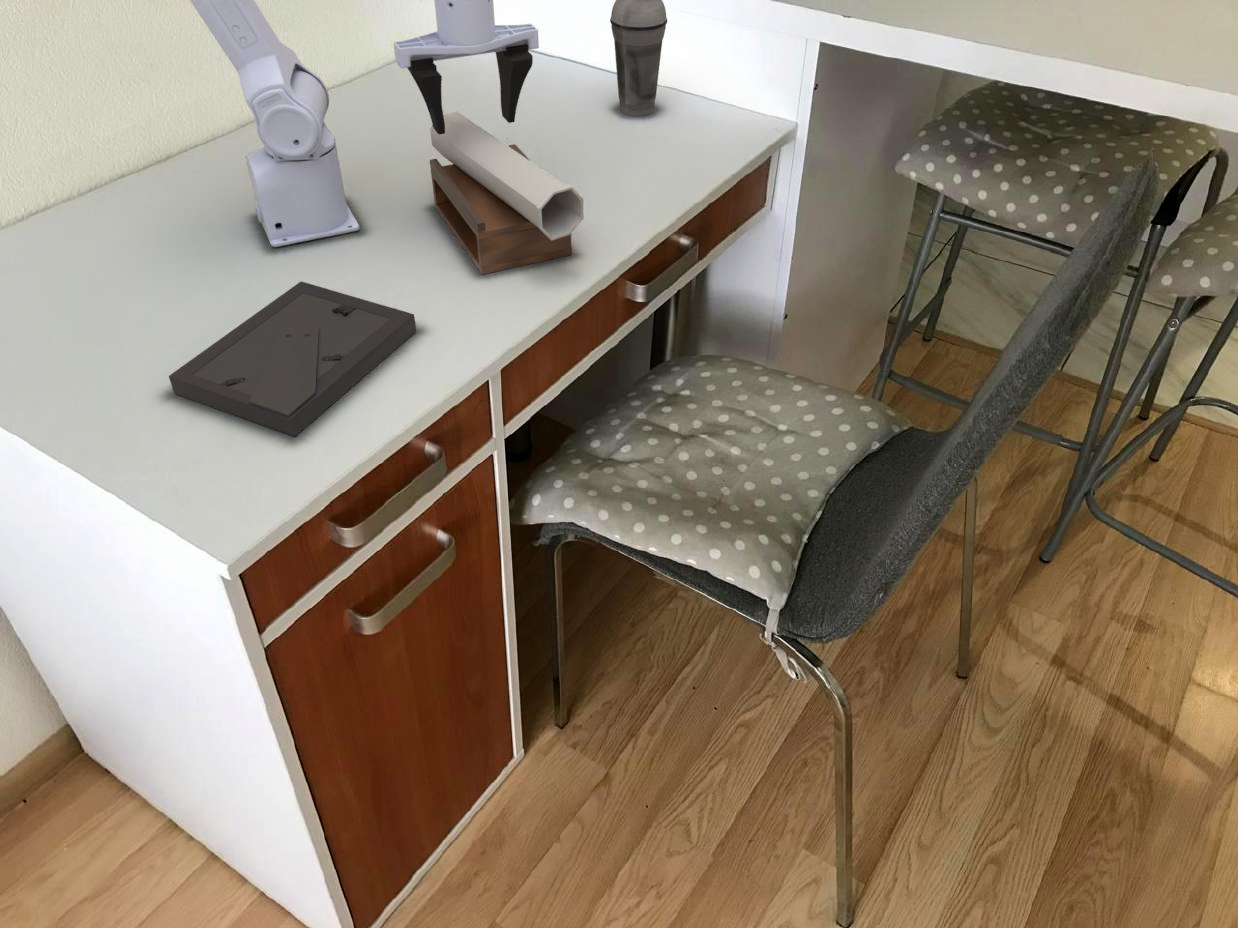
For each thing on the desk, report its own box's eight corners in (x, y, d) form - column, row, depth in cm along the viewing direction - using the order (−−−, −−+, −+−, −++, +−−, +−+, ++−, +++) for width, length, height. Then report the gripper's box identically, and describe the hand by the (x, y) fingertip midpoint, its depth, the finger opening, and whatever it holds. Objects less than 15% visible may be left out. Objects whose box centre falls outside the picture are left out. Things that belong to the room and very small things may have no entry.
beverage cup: (602, 102, 142) (602, -58, 129) (653, 96, 144) (658, -62, 131) (619, 123, 137) (620, -41, 124) (671, 117, 139) (678, -46, 126)
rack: (482, 274, 108) (477, 223, 104) (434, 208, 119) (429, 159, 115) (571, 254, 111) (570, 204, 107) (518, 191, 122) (515, 144, 118)
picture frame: (295, 437, 88) (416, 331, 100) (289, 416, 86) (413, 311, 99) (173, 394, 92) (304, 297, 104) (166, 373, 91) (300, 277, 103)
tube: (413, 121, 116) (531, 207, 100) (452, 95, 117) (575, 177, 101) (432, 161, 120) (548, 249, 104) (470, 136, 121) (591, 220, 105)
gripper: (519, -31, 107) (525, 100, 116) (379, -14, 103) (396, 121, 112) (544, -11, 102) (548, 124, 111) (398, 8, 98) (415, 147, 107)
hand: (474, 125), depth 111 cm, fingers open, 7 cm apart
